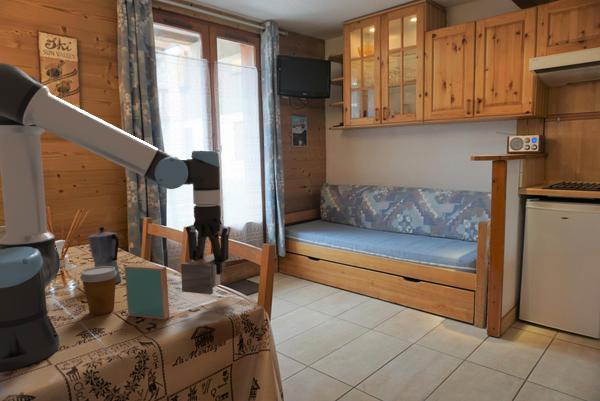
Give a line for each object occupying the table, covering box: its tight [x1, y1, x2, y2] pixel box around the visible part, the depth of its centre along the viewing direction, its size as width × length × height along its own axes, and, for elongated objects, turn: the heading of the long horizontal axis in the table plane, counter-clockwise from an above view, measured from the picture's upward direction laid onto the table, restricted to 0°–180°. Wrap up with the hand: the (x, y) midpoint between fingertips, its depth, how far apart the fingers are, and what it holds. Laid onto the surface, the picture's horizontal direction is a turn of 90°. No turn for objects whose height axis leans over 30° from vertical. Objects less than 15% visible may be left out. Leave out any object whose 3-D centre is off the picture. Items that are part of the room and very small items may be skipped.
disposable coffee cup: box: [79, 266, 117, 316], centre depth 115 cm, size 10×10×12 cm
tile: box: [123, 263, 171, 320], centre depth 110 cm, size 2×12×14 cm, turn 72°
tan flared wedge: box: [180, 253, 226, 295], centre depth 116 cm, size 13×9×8 cm
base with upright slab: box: [55, 239, 70, 264], centre depth 157 cm, size 9×9×12 cm
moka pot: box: [87, 226, 122, 285], centre depth 141 cm, size 10×15×20 cm, turn 62°
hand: (209, 284), depth 117 cm, fingers closed on tan flared wedge, 4 cm apart
